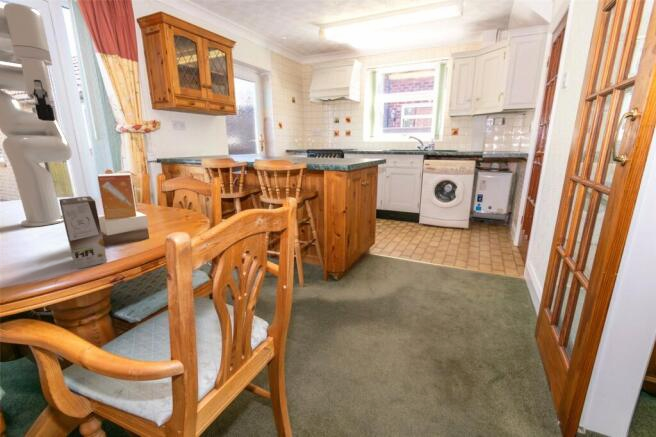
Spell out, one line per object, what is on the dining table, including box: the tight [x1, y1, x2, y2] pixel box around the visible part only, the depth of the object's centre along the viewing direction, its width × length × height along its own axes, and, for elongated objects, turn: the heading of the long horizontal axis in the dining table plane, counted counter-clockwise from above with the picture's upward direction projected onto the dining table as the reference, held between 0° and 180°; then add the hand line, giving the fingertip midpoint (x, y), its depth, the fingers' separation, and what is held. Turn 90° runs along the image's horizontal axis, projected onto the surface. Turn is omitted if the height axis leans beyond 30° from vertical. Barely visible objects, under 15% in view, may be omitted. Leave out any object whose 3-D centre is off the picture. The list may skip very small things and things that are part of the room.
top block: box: [98, 211, 149, 235], centre depth 93 cm, size 11×11×4 cm
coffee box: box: [58, 195, 108, 270], centre depth 74 cm, size 9×6×16 cm
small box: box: [97, 172, 138, 219], centre depth 90 cm, size 8×6×13 cm
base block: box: [101, 227, 150, 247], centre depth 94 cm, size 12×12×4 cm
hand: (47, 120), depth 88 cm, fingers open, 9 cm apart
